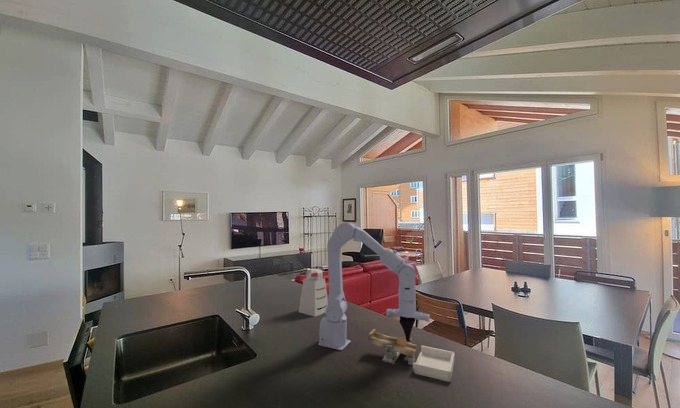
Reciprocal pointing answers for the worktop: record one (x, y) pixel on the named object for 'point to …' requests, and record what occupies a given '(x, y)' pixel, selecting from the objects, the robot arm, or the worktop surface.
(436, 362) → the dish
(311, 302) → the grater
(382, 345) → the lever
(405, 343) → the egg
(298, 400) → the worktop surface
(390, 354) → the pivot base
